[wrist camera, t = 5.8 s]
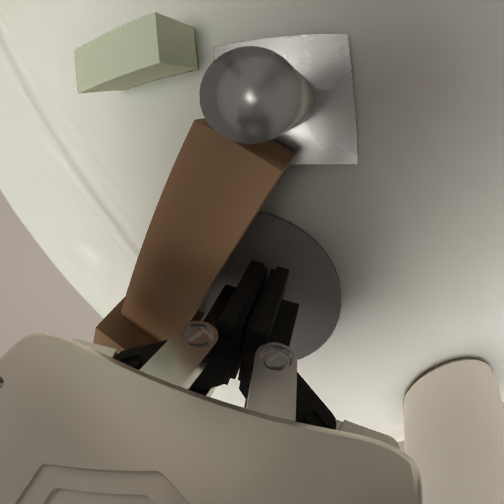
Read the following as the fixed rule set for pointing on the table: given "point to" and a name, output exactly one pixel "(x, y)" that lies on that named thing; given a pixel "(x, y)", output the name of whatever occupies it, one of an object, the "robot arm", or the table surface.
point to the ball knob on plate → (285, 96)
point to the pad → (299, 279)
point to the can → (457, 433)
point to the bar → (193, 234)
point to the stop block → (136, 54)
